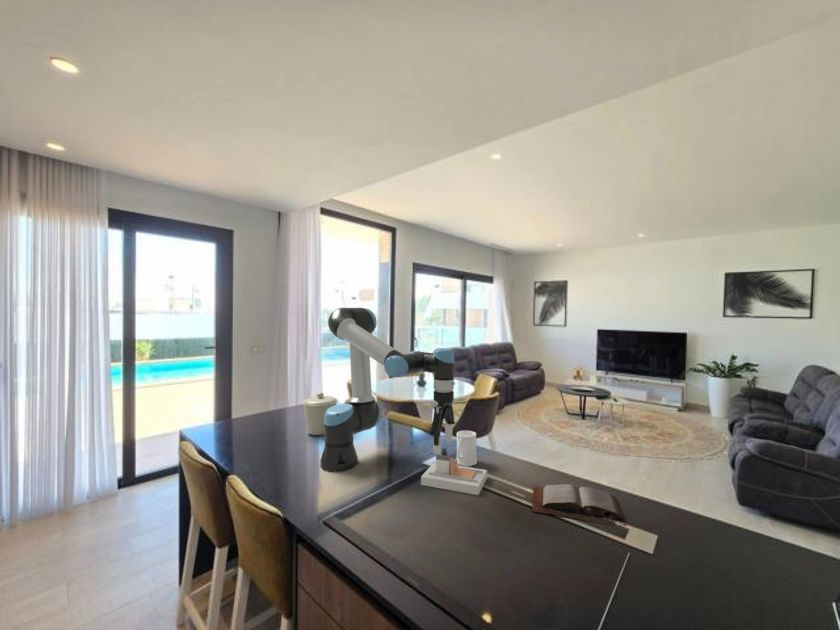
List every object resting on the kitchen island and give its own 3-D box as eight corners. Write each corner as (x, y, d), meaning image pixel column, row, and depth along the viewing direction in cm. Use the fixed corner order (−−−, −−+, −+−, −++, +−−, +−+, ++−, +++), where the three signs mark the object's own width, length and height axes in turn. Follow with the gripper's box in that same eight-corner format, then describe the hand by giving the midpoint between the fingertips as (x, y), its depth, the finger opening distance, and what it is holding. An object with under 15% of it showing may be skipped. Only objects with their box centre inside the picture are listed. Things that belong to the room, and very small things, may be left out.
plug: (436, 479, 136) (435, 449, 136) (439, 475, 140) (439, 446, 140) (449, 481, 134) (448, 451, 134) (452, 477, 138) (452, 447, 138)
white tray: (421, 484, 133) (421, 474, 133) (434, 469, 146) (434, 460, 146) (478, 495, 125) (478, 484, 125) (487, 478, 138) (487, 468, 138)
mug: (465, 471, 145) (464, 440, 144) (447, 465, 150) (447, 436, 150) (480, 461, 154) (480, 432, 153) (463, 456, 159) (463, 428, 159)
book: (634, 532, 105) (634, 516, 105) (531, 513, 114) (531, 498, 114) (620, 502, 124) (620, 488, 124) (533, 488, 133) (533, 475, 133)
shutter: (449, 476, 133) (449, 464, 133) (455, 469, 139) (455, 457, 139) (471, 480, 130) (471, 468, 130) (476, 472, 136) (476, 461, 136)
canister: (333, 438, 184) (333, 396, 184) (297, 438, 184) (297, 396, 184) (341, 427, 202) (341, 388, 202) (308, 427, 202) (308, 388, 202)
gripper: (442, 398, 124) (441, 461, 124) (462, 384, 147) (461, 437, 148) (421, 396, 127) (421, 457, 127) (444, 383, 150) (444, 434, 150)
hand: (443, 447), depth 137 cm, fingers open, 13 cm apart
